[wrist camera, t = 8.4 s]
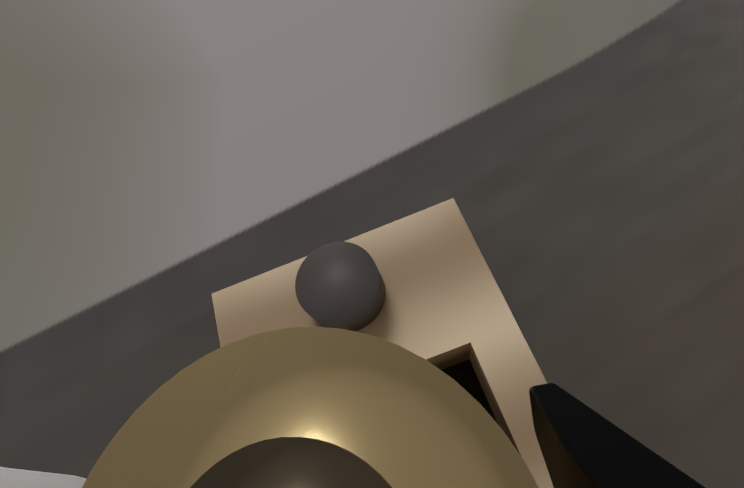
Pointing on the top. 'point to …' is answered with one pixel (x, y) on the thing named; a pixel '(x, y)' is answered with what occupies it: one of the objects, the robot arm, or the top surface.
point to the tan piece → (311, 422)
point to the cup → (37, 479)
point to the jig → (405, 309)
